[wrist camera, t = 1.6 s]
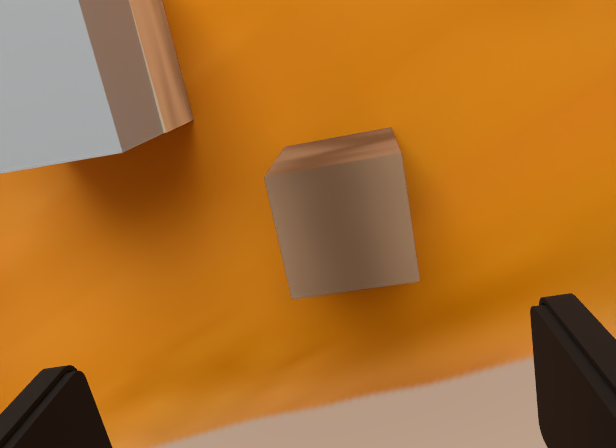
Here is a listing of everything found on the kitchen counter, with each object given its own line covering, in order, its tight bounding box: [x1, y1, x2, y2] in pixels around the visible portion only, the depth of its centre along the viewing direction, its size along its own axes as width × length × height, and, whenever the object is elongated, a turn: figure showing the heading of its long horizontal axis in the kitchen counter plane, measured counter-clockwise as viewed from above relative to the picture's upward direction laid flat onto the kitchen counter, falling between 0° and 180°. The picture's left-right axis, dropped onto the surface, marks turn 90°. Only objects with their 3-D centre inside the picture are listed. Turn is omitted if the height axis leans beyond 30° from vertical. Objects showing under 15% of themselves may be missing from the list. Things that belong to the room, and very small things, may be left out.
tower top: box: [0, 0, 164, 174], centre depth 19 cm, size 7×7×4 cm
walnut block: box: [264, 127, 420, 299], centre depth 23 cm, size 5×5×6 cm
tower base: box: [129, 0, 194, 133], centre depth 23 cm, size 7×7×4 cm
